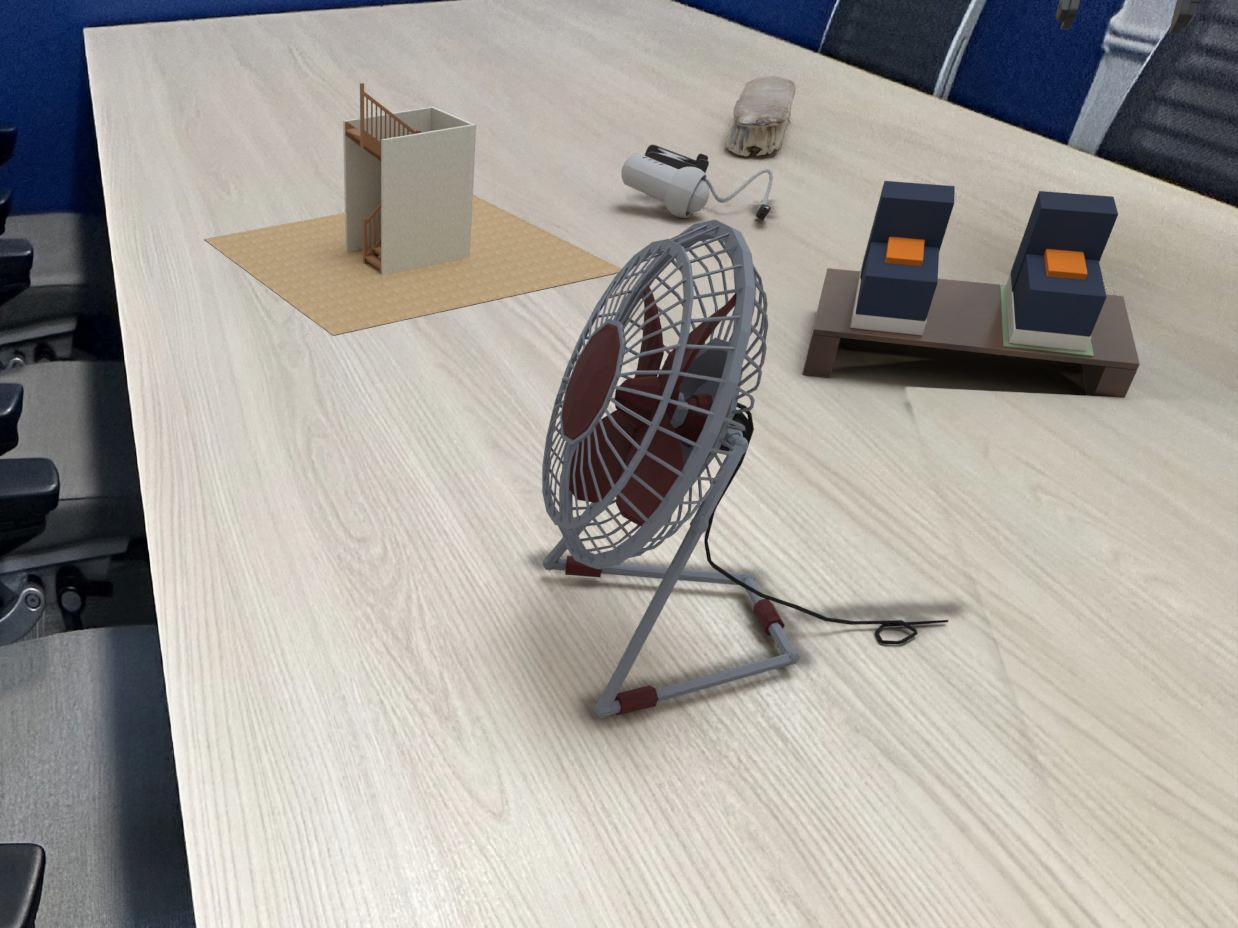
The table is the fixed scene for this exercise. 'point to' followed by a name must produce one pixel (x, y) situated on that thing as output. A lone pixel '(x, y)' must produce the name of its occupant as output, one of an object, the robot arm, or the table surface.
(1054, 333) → the trainer
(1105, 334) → the shoe rack
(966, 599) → the table surface
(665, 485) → the desk fan
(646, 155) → the clip-on lamp
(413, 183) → the staircase
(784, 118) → the shoe brush
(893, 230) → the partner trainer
